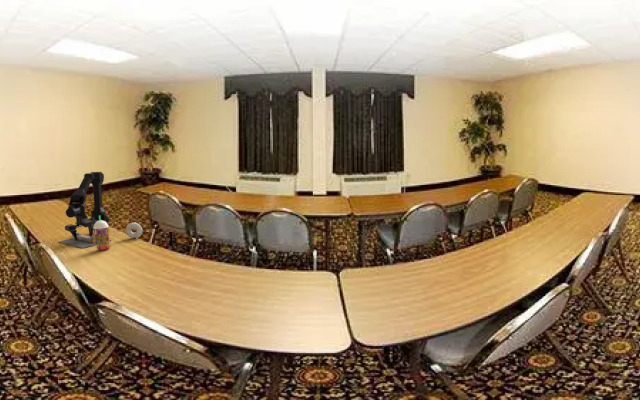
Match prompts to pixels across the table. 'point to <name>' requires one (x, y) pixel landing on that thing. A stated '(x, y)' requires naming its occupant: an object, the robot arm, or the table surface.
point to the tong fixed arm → (83, 235)
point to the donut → (130, 233)
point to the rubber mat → (78, 243)
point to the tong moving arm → (86, 239)
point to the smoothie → (101, 235)
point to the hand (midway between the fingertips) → (83, 238)
